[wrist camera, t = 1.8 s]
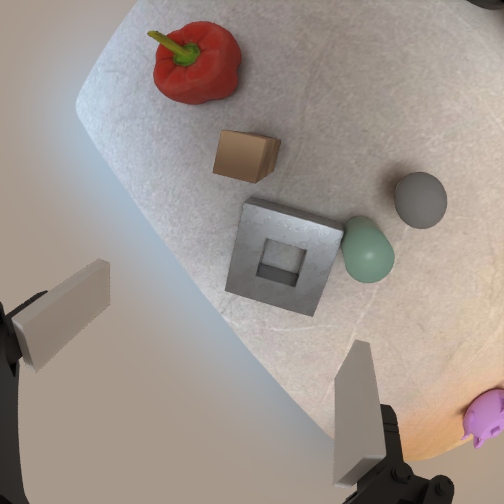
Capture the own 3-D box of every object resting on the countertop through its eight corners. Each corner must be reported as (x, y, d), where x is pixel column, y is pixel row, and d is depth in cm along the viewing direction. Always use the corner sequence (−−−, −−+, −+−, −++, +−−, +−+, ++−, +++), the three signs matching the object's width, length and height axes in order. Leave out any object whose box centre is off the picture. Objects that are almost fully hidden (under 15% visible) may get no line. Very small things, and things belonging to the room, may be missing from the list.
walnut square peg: (249, 132, 36) (221, 129, 25) (281, 140, 36) (265, 139, 25) (242, 163, 38) (212, 172, 27) (273, 170, 37) (255, 183, 26)
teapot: (511, 401, 42) (523, 428, 34) (461, 431, 47) (469, 460, 39) (507, 373, 40) (523, 403, 32) (451, 408, 45) (461, 441, 37)
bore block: (251, 196, 39) (244, 202, 35) (341, 222, 38) (343, 231, 34) (232, 277, 44) (224, 290, 40) (313, 301, 42) (312, 316, 39)
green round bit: (347, 210, 37) (354, 227, 30) (386, 223, 37) (401, 243, 29) (334, 249, 39) (337, 275, 32) (372, 261, 39) (383, 288, 31)
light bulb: (423, 213, 35) (453, 236, 26) (381, 212, 36) (400, 236, 27) (425, 167, 33) (457, 177, 24) (381, 165, 34) (403, 174, 25)
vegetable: (158, 77, 35) (117, 65, 26) (207, 22, 31) (177, -6, 22) (213, 124, 37) (180, 121, 28) (268, 66, 33) (251, 43, 23)
